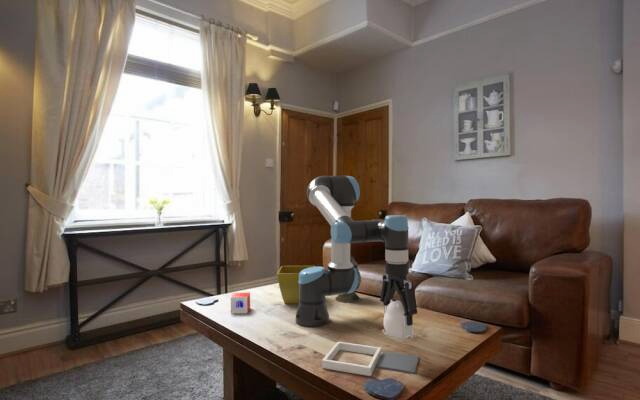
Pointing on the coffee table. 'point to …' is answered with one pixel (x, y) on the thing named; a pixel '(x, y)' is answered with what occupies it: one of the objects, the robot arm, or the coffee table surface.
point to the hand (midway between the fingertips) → (398, 329)
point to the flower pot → (290, 282)
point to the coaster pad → (398, 362)
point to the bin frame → (350, 367)
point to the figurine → (395, 320)
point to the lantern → (353, 296)
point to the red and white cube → (240, 303)
